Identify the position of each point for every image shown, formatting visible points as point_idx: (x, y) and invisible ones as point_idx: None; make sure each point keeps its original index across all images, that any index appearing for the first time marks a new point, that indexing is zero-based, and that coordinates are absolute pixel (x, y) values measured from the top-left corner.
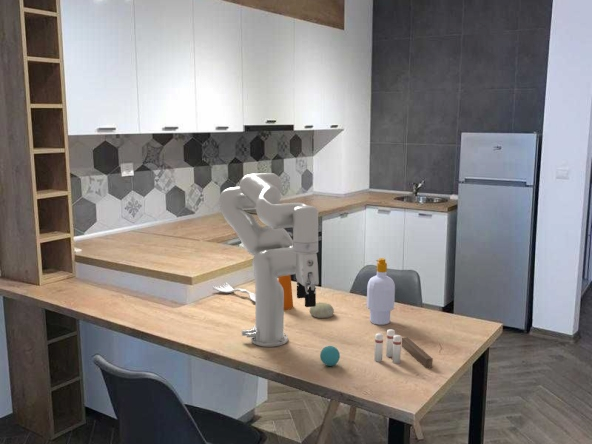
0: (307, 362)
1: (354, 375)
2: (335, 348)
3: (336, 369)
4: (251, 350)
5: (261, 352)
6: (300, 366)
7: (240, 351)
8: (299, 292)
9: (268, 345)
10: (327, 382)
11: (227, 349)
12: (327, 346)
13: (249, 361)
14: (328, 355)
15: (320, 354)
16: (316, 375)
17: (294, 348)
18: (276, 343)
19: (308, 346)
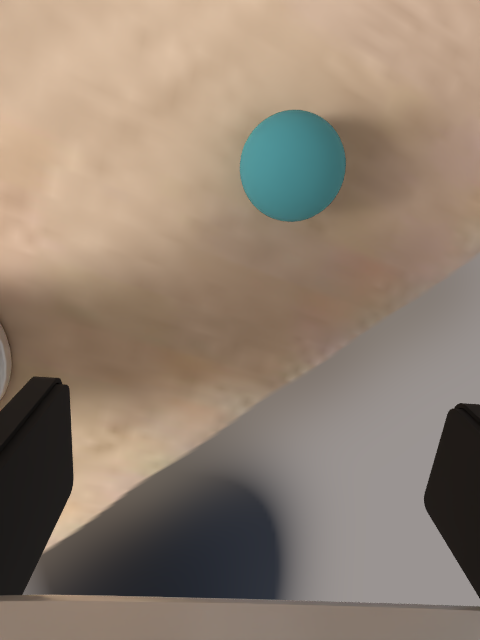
0: (222, 260)
1: (429, 99)
2: (317, 137)
3: None
4: None
5: None
6: (253, 303)
7: None
8: (41, 526)
9: (7, 380)
10: (436, 249)
11: None
12: (289, 179)
13: (147, 472)
14: (334, 195)
15: (278, 219)
16: (359, 269)
17: (43, 265)
18: (1, 347)
19: (28, 186)
